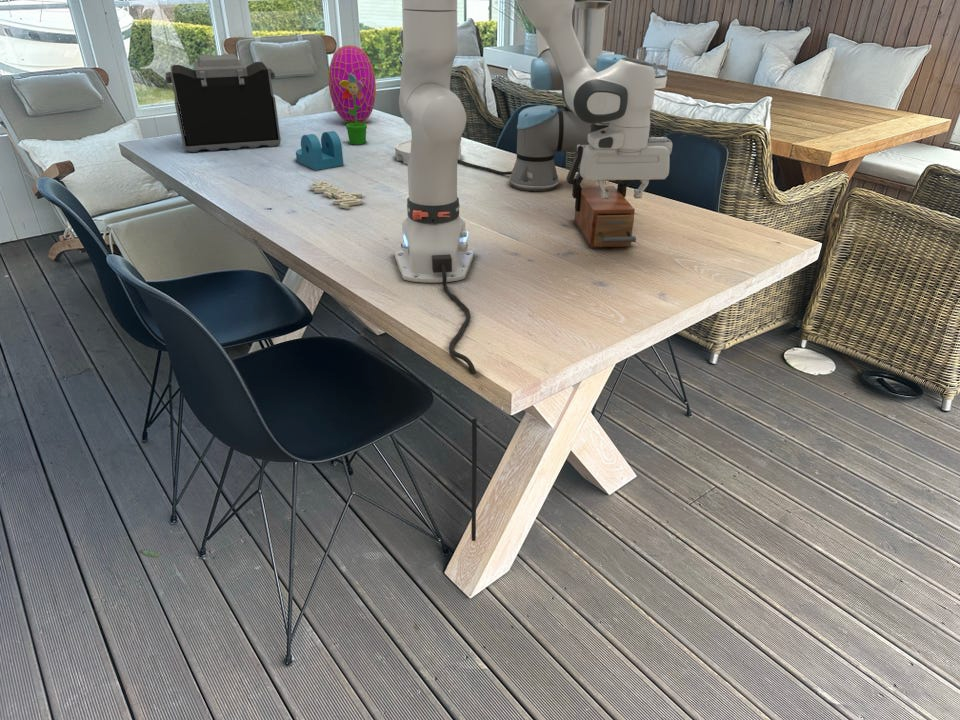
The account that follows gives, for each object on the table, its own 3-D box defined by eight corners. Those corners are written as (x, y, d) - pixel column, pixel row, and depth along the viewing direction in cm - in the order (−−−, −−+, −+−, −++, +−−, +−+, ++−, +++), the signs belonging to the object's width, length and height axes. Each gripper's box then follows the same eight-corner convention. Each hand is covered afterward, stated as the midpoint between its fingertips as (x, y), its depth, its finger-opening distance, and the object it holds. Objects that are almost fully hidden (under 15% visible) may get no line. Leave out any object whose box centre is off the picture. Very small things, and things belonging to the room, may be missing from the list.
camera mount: (343, 165, 234) (340, 133, 228) (315, 170, 228) (311, 137, 223) (318, 154, 246) (315, 124, 240) (291, 159, 240) (287, 128, 235)
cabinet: (630, 246, 171) (634, 209, 166) (589, 247, 170) (593, 210, 166) (610, 220, 188) (614, 186, 183) (573, 221, 187) (576, 186, 182)
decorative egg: (362, 116, 305) (357, 42, 290) (386, 123, 292) (382, 46, 277) (324, 121, 294) (316, 45, 279) (347, 129, 281) (340, 49, 266)
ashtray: (454, 167, 232) (454, 155, 230) (388, 164, 235) (387, 152, 233) (466, 151, 252) (466, 140, 250) (404, 148, 255) (404, 137, 253)
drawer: (636, 253, 165) (640, 223, 161) (599, 254, 164) (602, 223, 160) (611, 221, 185) (615, 193, 181) (578, 221, 184) (581, 194, 180)
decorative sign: (374, 199, 198) (343, 206, 193) (375, 203, 198) (344, 209, 193) (332, 179, 216) (303, 184, 211) (332, 182, 216) (303, 187, 211)
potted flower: (342, 144, 260) (336, 73, 247) (351, 139, 266) (346, 70, 254) (365, 146, 257) (360, 74, 245) (374, 141, 264) (369, 71, 251)
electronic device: (278, 133, 274) (267, 51, 259) (285, 146, 256) (274, 59, 241) (180, 140, 262) (162, 54, 247) (180, 153, 244) (161, 62, 229)
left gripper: (669, 133, 156) (660, 193, 164) (580, 134, 155) (575, 194, 162) (678, 140, 151) (668, 201, 158) (587, 140, 149) (581, 202, 156)
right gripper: (646, 119, 175) (635, 204, 186) (558, 119, 173) (552, 205, 184) (655, 125, 168) (643, 213, 179) (563, 126, 166) (557, 214, 178)
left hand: (621, 198), depth 160 cm, fingers open, 6 cm apart
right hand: (597, 209), depth 182 cm, fingers closed on cabinet, 10 cm apart
